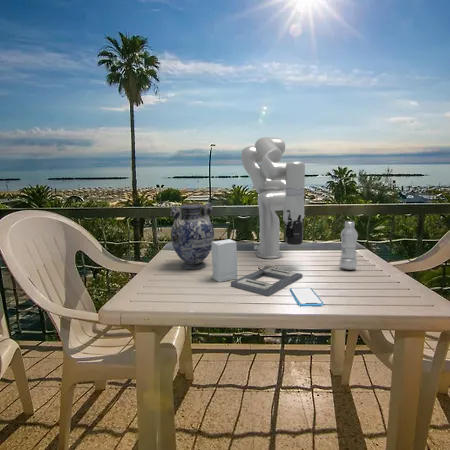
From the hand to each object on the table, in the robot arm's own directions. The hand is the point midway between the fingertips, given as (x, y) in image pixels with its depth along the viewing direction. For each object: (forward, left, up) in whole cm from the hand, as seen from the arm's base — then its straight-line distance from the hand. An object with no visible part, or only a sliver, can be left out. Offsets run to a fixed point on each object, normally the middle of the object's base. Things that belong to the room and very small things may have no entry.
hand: (294, 235), depth 132 cm
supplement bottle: (0, 0, -3) cm, 3 cm away
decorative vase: (-37, -22, -14) cm, 45 cm away
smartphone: (+18, -25, -15) cm, 34 cm away
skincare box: (-15, -27, -14) cm, 34 cm away
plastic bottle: (+18, +13, -14) cm, 26 cm away
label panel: (0, -20, -14) cm, 25 cm away
